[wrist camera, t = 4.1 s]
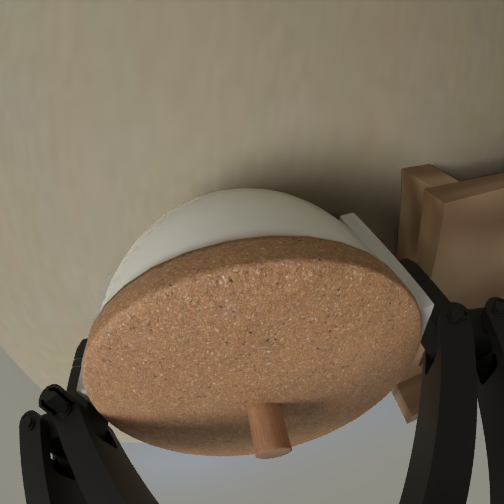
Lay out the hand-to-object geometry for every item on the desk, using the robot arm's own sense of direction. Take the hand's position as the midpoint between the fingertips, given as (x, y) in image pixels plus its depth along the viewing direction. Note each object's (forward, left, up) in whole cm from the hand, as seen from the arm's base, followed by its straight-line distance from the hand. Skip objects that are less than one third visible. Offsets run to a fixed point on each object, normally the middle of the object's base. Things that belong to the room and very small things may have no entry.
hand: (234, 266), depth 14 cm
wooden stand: (+5, +16, -1) cm, 17 cm away
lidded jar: (0, 0, -1) cm, 1 cm away
